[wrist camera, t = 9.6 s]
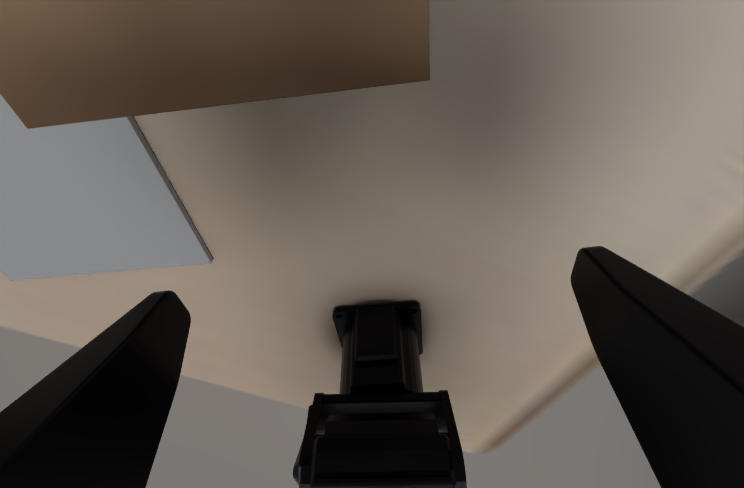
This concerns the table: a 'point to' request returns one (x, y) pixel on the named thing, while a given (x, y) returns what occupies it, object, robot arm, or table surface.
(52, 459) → the robot arm
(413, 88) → the table surface
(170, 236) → the mat
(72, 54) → the lid
